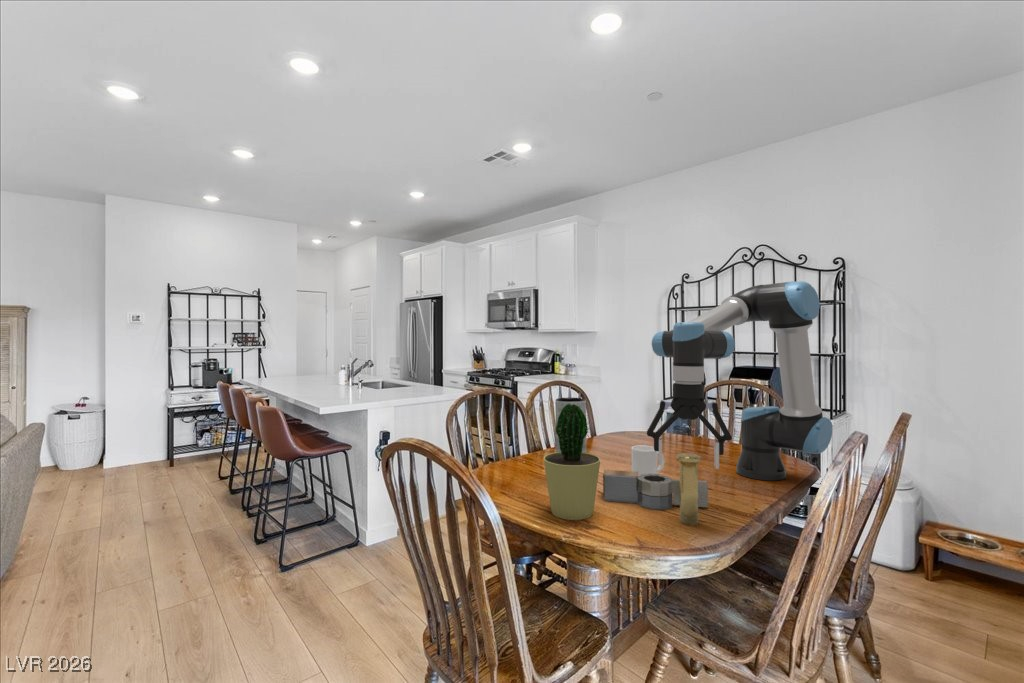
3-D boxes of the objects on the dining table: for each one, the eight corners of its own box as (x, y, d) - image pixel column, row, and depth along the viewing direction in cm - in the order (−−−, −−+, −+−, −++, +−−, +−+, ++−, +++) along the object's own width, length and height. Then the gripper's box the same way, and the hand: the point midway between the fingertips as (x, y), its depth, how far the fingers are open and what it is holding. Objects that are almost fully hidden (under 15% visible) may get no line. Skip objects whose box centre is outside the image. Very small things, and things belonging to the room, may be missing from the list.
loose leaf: (637, 506, 132) (637, 482, 132) (637, 495, 142) (637, 472, 141) (709, 512, 128) (709, 487, 128) (705, 500, 137) (705, 477, 137)
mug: (656, 473, 166) (656, 443, 166) (671, 479, 158) (671, 448, 158) (626, 476, 162) (626, 446, 162) (640, 483, 154) (640, 451, 154)
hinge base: (671, 499, 139) (670, 474, 139) (673, 510, 130) (673, 484, 130) (605, 494, 144) (605, 470, 144) (603, 505, 135) (603, 479, 135)
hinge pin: (700, 518, 124) (699, 453, 124) (703, 527, 118) (702, 459, 118) (675, 516, 126) (675, 452, 126) (677, 525, 120) (677, 458, 120)
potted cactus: (531, 512, 130) (531, 402, 130) (567, 498, 141) (566, 397, 140) (577, 528, 119) (576, 408, 119) (612, 511, 130) (611, 401, 129)
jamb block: (638, 495, 143) (638, 471, 142) (638, 501, 138) (638, 476, 138) (604, 493, 145) (604, 469, 145) (603, 498, 140) (603, 474, 140)
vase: (563, 475, 165) (563, 396, 164) (591, 479, 160) (590, 398, 159) (550, 482, 156) (550, 400, 156) (579, 487, 151) (578, 402, 151)
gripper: (738, 382, 122) (738, 465, 122) (637, 380, 129) (637, 458, 129) (744, 385, 115) (744, 473, 115) (637, 382, 121) (637, 466, 121)
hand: (687, 465), depth 122 cm, fingers open, 13 cm apart
